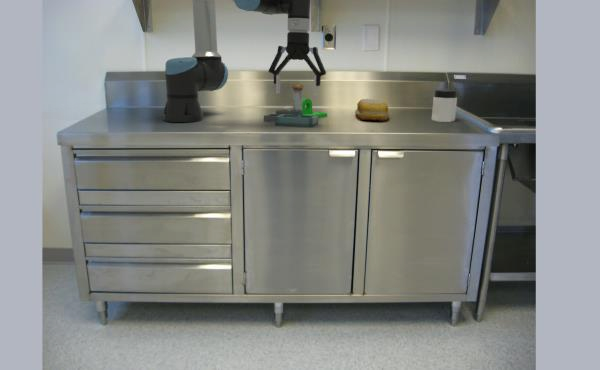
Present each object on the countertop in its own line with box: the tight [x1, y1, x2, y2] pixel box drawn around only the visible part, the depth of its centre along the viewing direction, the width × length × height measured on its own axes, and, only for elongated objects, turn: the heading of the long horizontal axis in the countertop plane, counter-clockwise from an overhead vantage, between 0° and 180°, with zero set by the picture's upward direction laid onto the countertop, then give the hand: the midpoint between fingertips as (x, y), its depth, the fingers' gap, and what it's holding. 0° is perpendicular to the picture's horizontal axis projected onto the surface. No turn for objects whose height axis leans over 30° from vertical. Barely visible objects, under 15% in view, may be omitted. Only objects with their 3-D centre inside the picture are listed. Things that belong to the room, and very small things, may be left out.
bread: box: [354, 98, 390, 122], centre depth 201 cm, size 13×26×8 cm, turn 178°
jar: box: [431, 89, 458, 123], centre depth 194 cm, size 9×8×12 cm
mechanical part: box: [302, 97, 328, 119], centre depth 199 cm, size 12×6×8 cm, turn 136°
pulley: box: [275, 105, 293, 115], centre depth 201 cm, size 9×9×4 cm
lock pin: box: [291, 84, 305, 118], centre depth 177 cm, size 4×4×13 cm
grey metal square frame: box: [263, 113, 282, 123], centre depth 190 cm, size 7×7×2 cm
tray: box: [274, 114, 319, 128], centre depth 179 cm, size 13×9×3 cm
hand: (296, 94), depth 177 cm, fingers open, 13 cm apart
